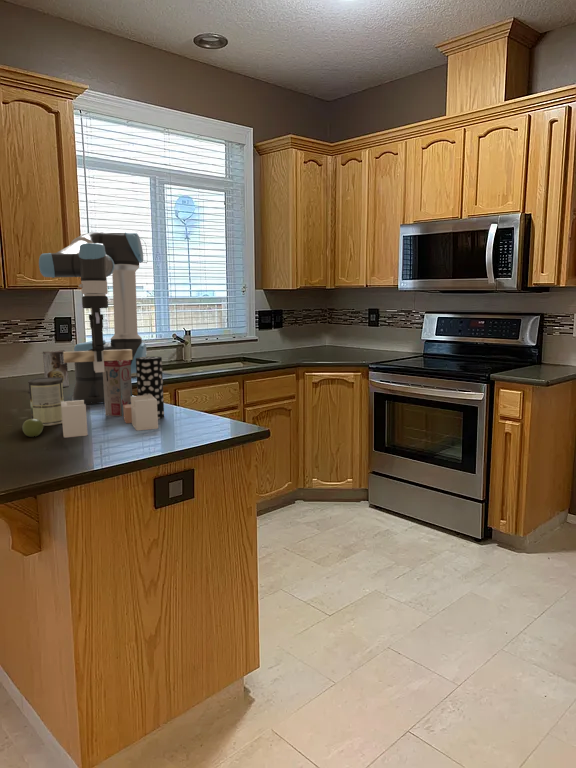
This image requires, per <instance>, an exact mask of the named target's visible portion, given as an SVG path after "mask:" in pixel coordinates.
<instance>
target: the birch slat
mask: <svg viewBox="0 0 576 768" xmlns="http://www.w3.org/2000/svg"><path fill="white" fill-rule="evenodd" d="M103 354H104V361H114V360H133V359H132V350H131V349H119V350H103ZM63 356H64V363H67V364H70V363H74V362H93V361H94V351H74V350H71V351H66V352H63Z"/></svg>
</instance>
